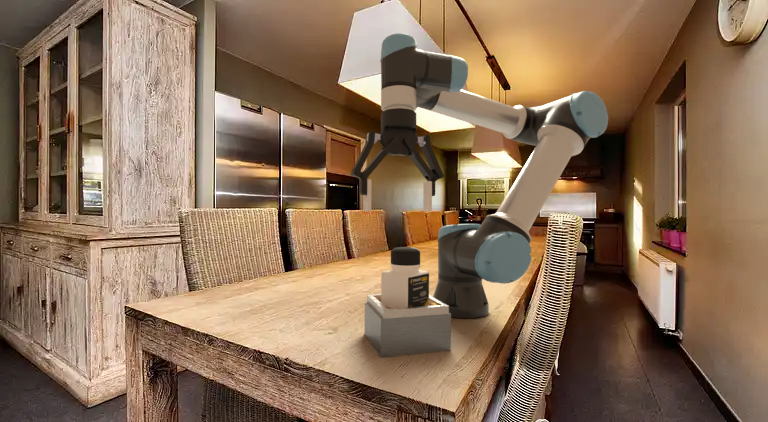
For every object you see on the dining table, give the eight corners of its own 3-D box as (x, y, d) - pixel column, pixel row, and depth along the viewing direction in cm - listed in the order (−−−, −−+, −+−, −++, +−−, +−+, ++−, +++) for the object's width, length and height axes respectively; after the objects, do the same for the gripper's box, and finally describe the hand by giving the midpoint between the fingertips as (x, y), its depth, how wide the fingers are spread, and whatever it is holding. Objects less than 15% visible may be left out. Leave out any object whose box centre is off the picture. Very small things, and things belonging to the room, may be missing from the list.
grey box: (424, 328, 82) (425, 291, 82) (450, 350, 70) (451, 305, 70) (364, 334, 79) (364, 294, 79) (380, 357, 66) (380, 310, 66)
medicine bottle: (408, 313, 69) (409, 250, 69) (380, 306, 74) (380, 247, 74) (429, 306, 75) (430, 247, 75) (402, 300, 79) (402, 245, 79)
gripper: (442, 120, 85) (442, 211, 85) (337, 110, 77) (337, 211, 77) (459, 112, 78) (459, 211, 78) (344, 100, 70) (344, 211, 70)
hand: (398, 211), depth 77 cm, fingers open, 13 cm apart
